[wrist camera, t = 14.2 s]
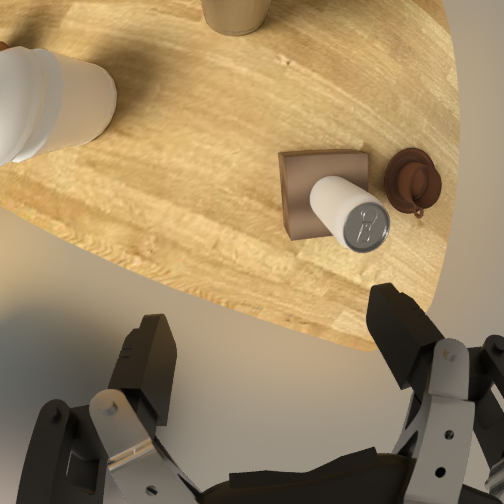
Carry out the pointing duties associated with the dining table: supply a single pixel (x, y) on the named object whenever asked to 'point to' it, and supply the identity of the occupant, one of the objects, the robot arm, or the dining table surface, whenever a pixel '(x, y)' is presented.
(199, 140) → the dining table surface
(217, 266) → the dining table surface
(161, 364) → the robot arm
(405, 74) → the dining table surface
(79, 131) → the bottle
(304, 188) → the walnut block
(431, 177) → the cup and saucer
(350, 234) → the can
